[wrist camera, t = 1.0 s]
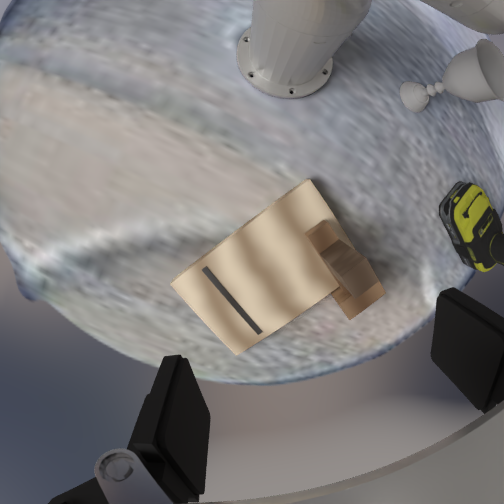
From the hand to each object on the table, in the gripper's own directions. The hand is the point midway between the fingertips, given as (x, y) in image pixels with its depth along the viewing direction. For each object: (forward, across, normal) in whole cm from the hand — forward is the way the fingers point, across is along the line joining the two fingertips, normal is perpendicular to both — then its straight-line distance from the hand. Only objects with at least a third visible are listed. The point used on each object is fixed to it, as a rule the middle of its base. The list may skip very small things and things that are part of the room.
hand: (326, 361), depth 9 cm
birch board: (+29, 0, +6) cm, 29 cm away
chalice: (+28, -26, -16) cm, 42 cm away
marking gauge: (+28, -9, +6) cm, 30 cm away
